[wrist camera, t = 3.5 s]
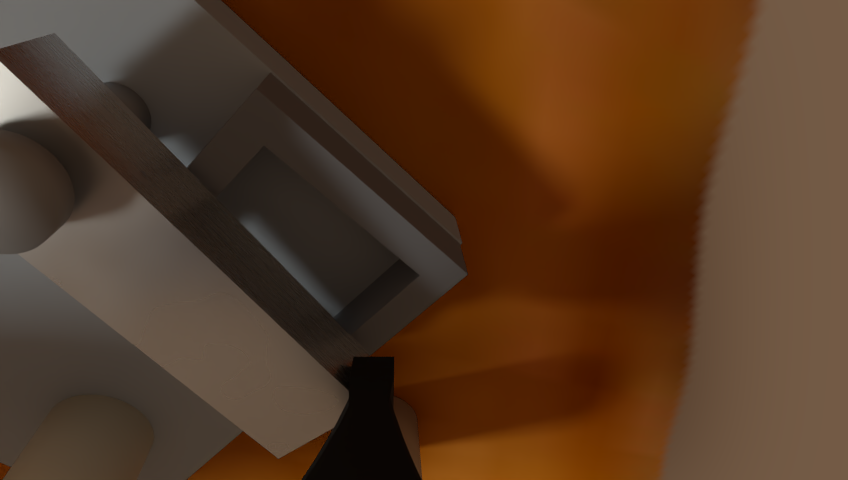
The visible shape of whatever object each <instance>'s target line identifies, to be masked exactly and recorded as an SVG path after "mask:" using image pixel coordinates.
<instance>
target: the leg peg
mask: <svg viewBox="0 0 848 480" xmlns="http://www.w3.org/2000/svg"><path fill="white" fill-rule="evenodd" d="M394 412H395V415H396V418H397V421H398V424H399V427H400V430H401V432H402V435H403V438H404V440H405V443H406V445H407V448H408V450H409V452H410V455H411V457H412V460H413V462H414V464H415V466H416V469H417V471H418V473H419V475H420V477H421V479H422V472H421V460H420V447H419V435H418V422H417V416H416V414H415V412H414V410H413V409H412V407H411V406H410V405H409V404H408V403H406V402H405V401H403V400H402V399H400V398H397V397H395V396H394ZM332 430H333V428H332V429H331V432H332Z"/></svg>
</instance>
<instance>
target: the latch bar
mask: <svg viewBox="0 0 848 480" xmlns="http://www.w3.org/2000/svg"><path fill="white" fill-rule="evenodd" d="M0 129H1V130H7V131H11V132H15V133H18V134H21V135H23V136H26V137H28V138H30V139H32V140H34V141H35V142H37V143H39V144H40V145H42V146H43V147H44V148H46V149H47V150H48V151H50V152H51V153H52V154H53V155H54V156H55V157H56V158H57V159H58V160H59V162H60V163H61V164H62V165H63V167H64V168H65V170H66V171H67V173H68V175H69V177H70V179H71V182H72V184H73V188H74V194H75V204H74V208H73V211H72V214H71V216H70V217H69V219H68V220H67V222H66V223H65V224H64V225H63V226H61V227H60V228H59V229H58V230H57V231H56V232H55V233H54V234H53V235H52V236H50V237H49V238H48V239H47V240H46V241H45V242H44V243H43V244H41V245H40V246H38V247H37V248H35V249H33V250H30V251H27V252H24V253H19V254H18V255H20V256H21V257H22V258H24V259H25V260H26V261H27V262H29V263H30V264H31V265H32V266H34V267H35V268H36V269H38V270H39V271H40V272H41V273H43V274H44V275H45V276H46V277H48V278H49V279H50V280H52V281H53V282H54V283H55V284H57V285H58V286H59V287H60V288H62V289H63V290H64V291H66V292H67V293H68V294H69V295H71V296H72V297H73V298H74V299H76V300H77V301H78V302H80V303H81V304H82V305H83V306H85V307H86V308H87V309H88V310H90V311H91V312H92V313H94V314H95V315H96V316H97V317H99V318H100V319H101V320H102V321H104V322H105V323H106V324H108V325H109V326H110V327H111V328H113V329H114V330H115V331H116V332H118V333H119V334H120V335H122V336H123V337H124V338H125V339H127V340H128V341H129V342H130V343H132V344H133V345H134V346H136V347H137V348H138V349H139V350H141V351H142V352H143V353H144V354H146V355H147V356H148V357H150V358H151V359H152V360H153V361H155V362H156V363H157V364H158V365H160V366H161V367H162V368H164V369H165V370H166V371H167V372H169V373H170V374H171V375H172V376H174V377H175V378H176V379H178V380H179V381H180V382H181V383H183V384H184V385H185V386H186V387H188V388H189V389H190V390H192V391H193V392H194V393H195V394H197V395H198V396H199V397H200V398H202V399H203V400H204V401H206V402H207V403H208V404H209V405H211V406H212V407H213V408H214V409H216V410H217V411H218V412H220V413H221V414H222V415H223V416H225V417H226V418H227V419H228V420H230V421H231V422H232V423H234V424H235V425H236V426H237V427H239V428H240V429H241V430H242V431H244V432H245V433H246V434H248V435H249V436H250V437H251V438H253V439H254V440H255V441H256V442H258V443H259V444H260V445H262V446H263V447H264V448H265V449H267V450H268V451H269V452H270V453H272V454H273V455H274V456H276V457H277V458H278V459H279V458H281V457H282V456H284V455H286V454H288V453H290V452H291V451H293V450H295V449H297V448H299V447H300V446H302V445H304V444H306V443H307V442H309V441H311V440H313V439H315V438H316V437H318V436H320V435H322V434H323V433H325V432H327V431H329V430H331V429H332V428H334V426H335V425H336V423H337V421H338V419H339V417H340V415H341V413H342V411H343V409H344V407H345V405H346V403H347V401H348V399H349V377H350V371H351V366H352V361H353V357H369V353H368V352H367V351H366V350H365V349H364V348H363V347H362V346H361V345H360V344H359V343H358V342H357V341H356V340H355V339H354V338H353V337H352V336H351V335H350V334H349V333H348V332H347V331H346V330H345V329H344V328H343V327H342V326H341V325H340V324H339V323H338V322H337V321H336V320H335V319H334V317H333V316H332V315H331V314H330V313H329V312H328V311H327V310H326V309H325V308H324V307H323V306H322V305H321V304H320V303H319V302H318V301H317V300H316V299H315V298H314V297H313V296H312V295H311V294H310V293H309V292H308V291H307V290H306V289H305V288H304V287H303V286H302V285H301V284H300V283H299V282H298V281H297V280H296V279H295V278H294V277H293V276H292V275H291V274H290V273H289V272H288V271H287V270H286V269H285V267H284V266H283V265H282V264H281V263H280V262H279V261H278V260H277V259H276V258H275V257H274V256H273V255H272V254H271V253H270V252H269V251H268V250H267V249H266V248H265V247H264V246H263V245H262V244H261V243H260V242H259V241H258V240H257V239H256V238H255V237H254V236H253V235H252V234H251V233H250V232H249V231H248V230H247V229H246V228H245V227H244V226H243V225H242V224H241V223H240V222H239V221H238V220H237V218H236V217H235V216H234V215H233V214H232V213H231V212H230V211H229V210H228V209H227V208H226V207H225V206H224V205H223V204H222V203H221V202H220V201H219V200H218V199H217V198H216V197H215V196H214V195H213V194H212V193H211V192H210V191H209V190H208V189H207V188H206V187H205V186H204V185H203V184H202V183H201V182H200V181H199V180H198V179H197V178H196V177H195V176H194V175H193V174H192V173H191V172H190V171H189V170H188V168H187V167H186V166H185V165H184V164H183V163H182V162H181V161H180V160H179V159H178V158H177V157H176V156H175V155H174V154H173V153H172V152H171V151H170V150H169V149H168V148H167V147H166V146H165V145H164V144H163V143H162V142H161V141H160V140H159V139H158V138H157V137H156V136H155V135H154V134H153V133H152V132H151V131H150V130H149V129H148V128H147V127H146V126H145V125H144V124H143V123H142V122H141V121H140V119H139V118H138V117H137V116H136V115H135V114H134V113H133V112H132V111H131V110H130V109H129V108H128V107H127V106H126V105H125V104H124V103H123V102H122V101H121V100H120V99H119V98H118V97H117V96H116V95H115V94H114V93H113V92H112V91H111V90H110V89H109V88H108V87H107V86H106V85H105V84H104V83H103V82H102V81H101V80H100V79H99V78H98V77H97V76H96V75H95V74H94V73H93V72H92V70H91V69H90V68H89V67H88V66H87V65H86V64H85V63H84V62H83V61H82V60H81V59H80V58H79V57H78V56H77V55H76V54H75V53H74V52H73V51H72V50H71V49H70V48H69V47H68V46H67V45H66V44H65V43H64V42H63V41H62V40H61V39H60V38H59V37H58V36H57V35H56V34H55V33H53V34H49V35H46V36H42V37H39V38H35V39H32V40H28V41H25V42H21V43H18V44H14V45H11V46H7V47H4V48H0Z"/></svg>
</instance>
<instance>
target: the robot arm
mask: <svg viewBox="0 0 848 480" xmlns="http://www.w3.org/2000/svg"><path fill="white" fill-rule="evenodd" d="M302 480H422V479H421V477H420V475H419V473H418V471H417V469H416V466H415V464H414V462H413V460H412V457H411V455H410V452H409V450H408V448H407V445H406V443H405V440H404V438H403V435H402V432H401V430H400V427H399V424H398V421H397V418H396V415H395V412H394V357H353V361H352V366H351V371H350V377H349V399H348V401H347V403H346V405H345V407H344V409H343V411H342V413H341V415H340V417H339V419H338V421H337V423H336V425H335V426H334V428H333V430H332V432H331V434H330V435H329V437H328V439H327V440H326V442H325V444H324V445H323V447H322V449H321V450H320V452H319V454H318V455H317V457H316V459H315V460H314V462H313V463H312V465H311V466H310V468H309V469H308V471H307V472H306V474H305V475H304V477H303V478H302Z"/></svg>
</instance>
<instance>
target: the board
mask: <svg viewBox="0 0 848 480" xmlns="http://www.w3.org/2000/svg"><path fill="white" fill-rule="evenodd" d="M53 33H55V34H56V35H57V36H58V37H59V38H60V39H61V40H62V41H63V42H64V43H65V44H66V45H67V46H68V47H69V48H70V49H71V50H72V51H73V52H74V53H75V54H76V55H77V56H78V57H79V58H80V59H81V60H82V61H83V62H84V63H85V64H86V65H87V66H88V67H89V68H90V69H91V70H92V72H93V73H94V74H95V75H96V76H97V77H98V78H99V79H100V80H101V81H102V82H103V83H104V84H105V85H106V86H107V87H108V88H109V89H110V90H111V91H112V92H113V93H114V94H115V95H116V96H117V97H118V98H119V99H120V100H121V101H122V102H123V103H124V104H125V105H126V106H127V107H128V108H129V109H130V110H131V111H132V112H133V113H134V114H135V115H136V116H137V117H138V118H139V119H140V121H141V122H142V123H143V124H144V125H145V126H146V127H147V128H148V129H149V130H150V131H151V132H152V133H153V134H154V135H155V136H156V137H157V138H158V139H159V140H160V141H161V142H162V143H163V144H164V145H165V146H166V147H167V148H168V149H169V150H170V151H171V152H172V153H173V154H174V155H175V156H176V157H177V158H178V159H179V160H180V161H181V162H182V163H183V164H184V165H185V166H186V167H187V168H188V170H189V171H190V172H191V173H192V174H193V175H194V176H195V177H196V178H197V179H198V180H199V181H200V182H201V183H202V184H203V185H204V186H205V187H206V188H207V189H208V190H209V191H210V192H211V193H212V194H213V195H214V196H215V197H216V198H217V199H218V200H219V201H220V202H221V203H222V204H223V205H224V206H225V207H226V208H227V209H228V210H229V211H230V212H231V213H232V214H233V215H234V216H235V217H236V218H237V220H238V221H239V222H240V223H241V224H242V225H243V226H244V227H245V228H246V229H247V230H248V231H249V232H250V233H251V234H252V235H253V236H254V237H255V238H256V239H257V240H258V241H259V242H260V243H261V244H262V245H263V246H264V247H265V248H266V249H267V250H268V251H269V252H270V253H271V254H272V255H273V256H274V257H275V258H276V259H277V260H278V261H279V262H280V263H281V264H282V265H283V266H284V267H285V269H286V270H287V271H288V272H289V273H290V274H291V275H292V276H293V277H294V278H295V279H296V280H297V281H298V282H299V283H300V284H301V285H302V286H303V287H304V288H305V289H306V290H307V291H308V292H309V293H310V294H311V295H312V296H313V297H314V298H315V299H316V300H317V301H318V302H319V303H320V304H321V305H322V306H323V307H324V308H325V309H326V310H327V311H328V312H329V313H330V314H331V315H332V316H333V317H334V319H335V320H336V321H337V322H338V323H339V324H340V325H341V326H342V327H343V328H344V329H345V330H346V331H347V332H348V333H349V334H350V335H351V336H352V337H353V338H354V339H355V340H356V341H357V342H358V343H359V344H360V345H361V346H362V347H363V348H364V349H365V350H366V351H367V352H368V353H369V356H370V355H371V354H373V353H374V352H375V351H376V350H377V349H379V348H380V347H381V346H382V345H384V344H385V343H386V342H387V341H388V340H390V339H391V338H392V337H393V336H394V335H396V334H397V333H398V332H399V331H400V330H402V329H403V328H404V327H405V326H406V325H408V324H409V323H410V322H411V321H412V320H414V319H415V318H416V317H417V316H418V315H420V314H421V313H422V312H423V311H424V310H426V309H427V308H428V307H429V306H430V305H432V304H433V303H434V302H435V301H436V300H438V299H439V298H440V297H441V296H442V295H444V294H445V293H446V292H447V291H448V290H450V289H451V288H452V287H453V286H455V285H456V284H457V283H458V282H459V281H461V280H462V279H463V278H464V277H465V276H467V275H468V273H467V269H466V265H465V261H464V258H463V254H462V250H461V246H460V245H461V244H462V240H461V236H460V233H459V229H458V226H457V222H456V218H455V217H454V216H453V215H452V214H451V213H450V212H449V211H448V210H447V209H446V208H445V207H443V206H442V205H441V204H440V203H439V202H438V201H437V200H436V199H435V198H434V197H433V196H432V195H431V194H429V193H428V192H427V191H426V190H425V189H424V188H423V187H422V186H421V185H420V184H419V183H418V182H417V181H415V180H414V179H413V178H412V177H411V176H410V175H409V174H408V173H407V172H406V171H405V170H404V169H402V168H401V167H400V166H399V165H398V164H397V163H396V162H395V161H394V160H393V159H392V158H391V157H390V156H388V155H387V154H386V153H385V152H384V151H383V150H382V149H381V148H380V147H379V146H378V145H377V144H376V143H374V142H373V141H372V140H371V139H370V138H369V137H368V136H367V135H366V134H365V133H364V132H363V131H361V130H360V129H359V128H358V127H357V126H356V125H355V124H354V123H353V122H352V121H351V120H350V119H349V118H347V117H346V116H345V115H344V114H343V113H342V112H341V111H340V110H339V109H338V108H337V107H336V106H335V105H333V104H332V103H331V102H330V101H329V100H328V99H327V98H326V97H325V96H324V95H323V94H322V93H320V92H319V91H318V90H317V89H316V88H315V87H314V86H313V85H312V84H311V83H310V82H309V81H308V80H306V79H305V78H304V77H303V76H302V75H301V74H300V73H299V72H298V71H297V70H296V69H295V68H294V67H292V66H291V65H290V64H289V63H288V62H287V61H286V60H285V59H284V58H283V57H282V56H281V55H280V54H278V53H277V52H276V51H275V50H274V49H273V48H272V47H271V46H270V45H269V44H268V43H267V42H265V41H264V40H263V39H262V38H261V37H260V36H259V35H258V34H257V33H256V32H255V31H254V30H253V29H251V28H250V27H249V26H248V25H247V24H246V23H245V22H244V21H243V20H242V19H241V18H240V17H239V16H237V15H236V14H235V13H234V12H233V11H232V10H231V9H230V8H229V7H228V6H227V5H226V4H224V3H223V2H222V1H221V0H0V48H4V47H7V46H11V45H14V44H18V43H21V42H25V41H28V40H32V39H35V38H39V37H42V36H46V35H49V34H53ZM74 204H75V194H74V188H73V184H72V182H71V179H70V177H69V175H68V173H67V171H66V170H65V168H64V167H63V165H62V164H61V163H60V162H59V160H58V159H57V158H56V157H55V156H54V155H53V154H52V153H51V152H50V151H48V150H47V149H46V148H44V147H43V146H42V145H40V144H39V143H37V142H35V141H34V140H32V139H30V138H28V137H26V136H23V135H21V134H18V133H15V132H11V131H7V130H1V129H0V462H1V463H3V464H5V465H7V466H10V467H11V468H10V469H9V471H8V472H7V474H6V475H5V477H4V478H3V480H187V479H188V478H189V477H190V476H191V475H192V474H194V473H195V472H196V471H197V470H198V469H199V468H201V467H202V466H203V465H204V464H205V463H206V462H208V461H209V460H210V459H211V458H212V457H213V456H215V455H216V454H217V453H218V452H219V451H220V450H222V449H223V448H224V447H225V446H226V445H227V444H229V443H230V442H231V441H232V440H233V439H234V438H236V437H237V436H238V435H239V434H240V433H241V432H243V431H242V430H241V429H240V428H239V427H237V426H236V425H235V424H234V423H232V422H231V421H230V420H228V419H227V418H226V417H225V416H223V415H222V414H221V413H220V412H218V411H217V410H216V409H214V408H213V407H212V406H211V405H209V404H208V403H207V402H206V401H204V400H203V399H202V398H200V397H199V396H198V395H197V394H195V393H194V392H193V391H192V390H190V389H189V388H188V387H186V386H185V385H184V384H183V383H181V382H180V381H179V380H178V379H176V378H175V377H174V376H172V375H171V374H170V373H169V372H167V371H166V370H165V369H164V368H162V367H161V366H160V365H158V364H157V363H156V362H155V361H153V360H152V359H151V358H150V357H148V356H147V355H146V354H144V353H143V352H142V351H141V350H139V349H138V348H137V347H136V346H134V345H133V344H132V343H130V342H129V341H128V340H127V339H125V338H124V337H123V336H122V335H120V334H119V333H118V332H116V331H115V330H114V329H113V328H111V327H110V326H109V325H108V324H106V323H105V322H104V321H102V320H101V319H100V318H99V317H97V316H96V315H95V314H94V313H92V312H91V311H90V310H88V309H87V308H86V307H85V306H83V305H82V304H81V303H80V302H78V301H77V300H76V299H74V298H73V297H72V296H71V295H69V294H68V293H67V292H66V291H64V290H63V289H62V288H60V287H59V286H58V285H57V284H55V283H54V282H53V281H52V280H50V279H49V278H48V277H46V276H45V275H44V274H43V273H41V272H40V271H39V270H38V269H36V268H35V267H34V266H32V265H31V264H30V263H29V262H27V261H26V260H25V259H24V258H22V257H21V256H20V255H18V254H19V253H24V252H27V251H30V250H33V249H35V248H37V247H38V246H40V245H41V244H43V243H44V242H45V241H46V240H47V239H48V238H49V237H50V236H52V235H53V234H54V233H55V232H56V231H57V230H58V229H59V228H60V227H61V226H63V225H64V224H65V223H66V222H67V220H68V219H69V217H70V216H71V214H72V211H73V208H74Z"/></svg>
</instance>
